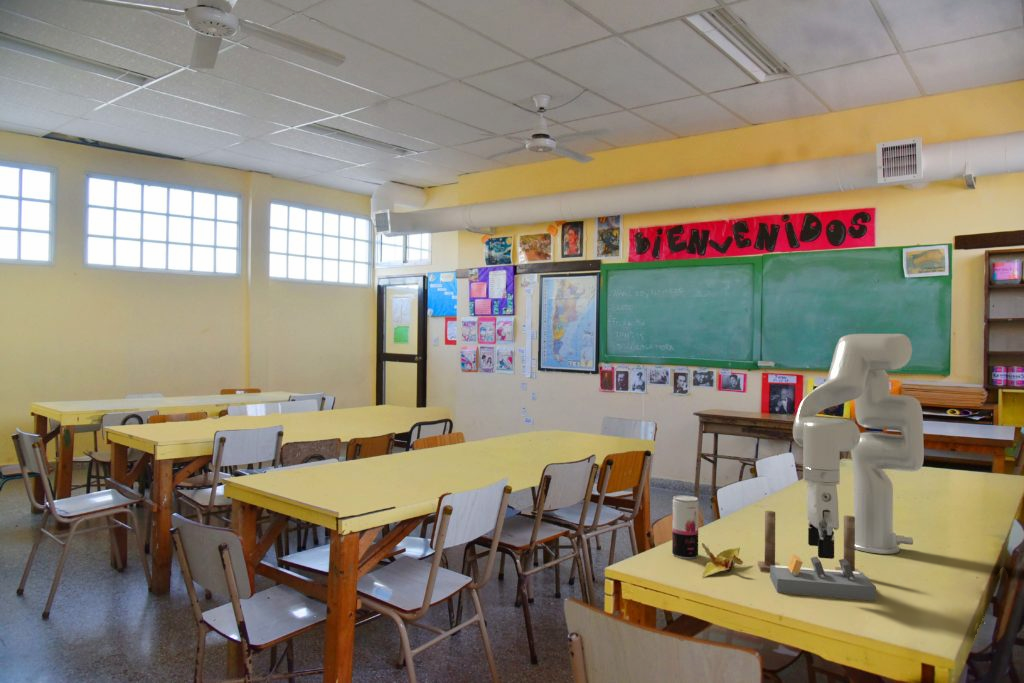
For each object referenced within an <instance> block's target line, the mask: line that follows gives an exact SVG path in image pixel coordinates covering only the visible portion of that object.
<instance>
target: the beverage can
mask: <svg viewBox="0 0 1024 683" xmlns="http://www.w3.org/2000/svg"><path fill="white" fill-rule="evenodd" d="M699 503H700V502H699V498H698V497H697V496H691V495H675V496H673V499H672V530H671V531H672V538H671V539H672V547H671V548H672V549H671V550H672V551H671V552H672V554H673V555H674V557H676V558H679V559H689V560H691V559H696V558H697V557H698V556H699V512H700V511H699V510H700V509H699V506H700V505H699Z"/></svg>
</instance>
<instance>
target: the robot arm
mask: <svg viewBox="0 0 1024 683" xmlns="http://www.w3.org/2000/svg"><path fill="white" fill-rule="evenodd" d="M912 353H913V346H912V343H911V340H910V338H909V337H908V336H907V335H906V334H904V333H853V334H847V335H843V336H841V337H840V338H839V340H838V342H837V343H836V346H835V350H834V353H833V357H832V360H831V363H830V366H829V367H830V368H829V370H828V374H827V378H826V380H825V381H824V383H822V384H820V385H819V386H816V388H814V389H813V390H812V391H810V392H809V393H808V394H807V395H806V396H805V397H804V398H803V399H802V400H801V402H800V403H799V405H798V408H797V412H796V413H795V414H796V415H795V418H794V421H793V424H792V426H793V427H792V437H793V439H794V442H795V443H796V444H797V445H798V446H800V447H801V448H802V451H803V452H802V454H803V455H802V458H803V459H802V461H803V462H802V481H803V482H805V483H807V486H806V487H807V491H806V517H807V520H808V530H807V531H808V533H807V535H808V538H807V539H808V540H807V544H808V546H813V547H817V558H818V559H819V558H820V559H829V560H830V559H831V560H833V559H834V558H835V536H834V535H835V531H837V530H839V528H840V518H839V517H840V516H839V515H840V514H839V500H838V499H839V498H838V497H839V496H838V489H837V486H838V485H840V480H841V478H840V471H841V469H840V467H841V464H840V462H841V461H840V459H841V458H840V456H841V455H840V453H841V452H850V456H851V462H852V468H853V517H855V550H858V551H861V552H865V553H871V554H881V555H882V554H883V555H888V554H889V555H892V554H897V553H899V552H900V545H901V544H902V545H903V544H904V545H914V538H913V537H911V536H904V535H897V534H896V533H895V532H894V485H893V482H892V481H891V479H890V477H889V476H888V475H887V473H886V472H885V471H884V470H893V471H900V472H902V471H903V472H917V471H919V470H921V468H922V467H923V465H924V458H925V454H924V453H925V448H924V447H925V445H924V443H925V442H924V418H923V416H924V414H923V409H922V405H921V403H920V401H919V399H917V398H916V397H914V396H911V395H901V394H892V393H890V377H889V374H888V373H887V371H895V370H898V369H900V368H903V367H904V366H906V365H907V364H908V363H909V362H910V360H911V357H912ZM851 401H854V412H855V419H856V422H857V424H858V425H859V426H861V427H864V428H867V429H873V430H874V429H876V430H887V431H888V430H889V431H898V432H900V433H901V434H894V433H893V434H891V433H882V432H881V433H880V432H861V430H860V429H859V426H858V425H857V424H856V423H855V421H853V420H851V419H847V418H845V419H844V418H837V417H836V418H835V417H832V418H831V417H822V416H821V417H820V416H817V415H818V414H819V413H820V412H823V411H824V410H826V409H829V408H831V407H835V406H839V405H842V404H845V403H849V402H851ZM834 530H835V531H834Z"/></svg>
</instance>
